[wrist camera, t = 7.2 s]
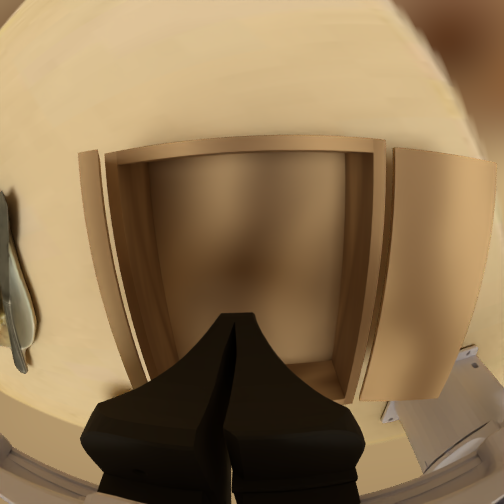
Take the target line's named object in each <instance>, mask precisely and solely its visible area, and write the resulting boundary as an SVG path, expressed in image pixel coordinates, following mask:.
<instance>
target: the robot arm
mask: <svg viewBox="0 0 504 504" xmlns="http://www.w3.org/2000/svg"><path fill="white" fill-rule="evenodd" d="M477 351H478V347H477V346H476V345H474V346H471V347H468V348H465V349H462V350H460V351H459V354H458V356H457V359H456V361H455V363H454V366H453V368H452V370H451V372H450V375H449V377H448V379H447V381H446V383H445V385H444V387H443V389H442V391H441V393H440V395H439V397H438V398H436V399H423V400H405V401H389V402H388V404H387V407H386V409H385V411H384V414H383V416H382V418H381V421H382V423H388V422H392V421H396V420H400V422H401V424H402V426H403V428H404V430H405V433H406V435H407V437H408V439H409V442H410V444H411V446H412V448H413V450H414V453H415V455H416V458H417V460H418V462H419V465H420V467H421V470H422V472H423V475H422V476H420V477H419V478H416V479H413V480H411V481H408V482H405V483H402V484H399V485H396V486H393V487H390V488H387V489H383V490H380V491H376V492H372V493H368V494H365V495H361V496H359V493H358V489H357V485H356V481H357V479H358V476H357V472H356V468H355V466H356V464H357V463H358V461H359V459H360V457H361V455H362V453H363V451H364V448H365V441H364V437H363V434H362V431H361V429H360V427H359V425H358V423H357V421H356V420H355V418H354V416H353V415H352V413H351V411H350V410H349V409H348V408H347V407H345V406H342V405H340V404H339V403H337V402H335V401H333V400H331V399H329V398H327V397H325V396H323V395H322V394H320V393H319V392H317V391H316V390H314V389H313V388H312V387H310V386H309V385H308V384H306V383H305V382H304V381H303V380H301V379H300V378H299V377H298V376H297V375H296V374H294V373H293V372H292V371H291V370H290V369H289V368H288V367H287V366H286V365H285V363H284V362H283V361H282V360H281V359H280V358H279V357H278V355H277V354H276V353H275V351H274V350H273V349H272V347H271V346H270V344H269V343H268V341H267V340H266V338H265V336H264V335H263V333H262V331H261V329H260V327H259V325H258V323H257V320H256V316H255V314H254V313H253V312H244V313H221V314H220V315H219V316H218V317H217V319H216V320H215V322H214V323H213V324H212V326H211V327H210V328H209V329H208V331H207V332H206V333H205V334H204V336H203V337H202V338H201V339H200V340H199V341H198V343H197V344H196V345H195V346H194V347H193V348H192V349H191V350H190V351H189V352H188V353H187V354H186V355H185V356H184V357H183V358H181V359H180V360H179V361H178V362H177V363H176V364H174V365H173V366H172V367H170V368H169V369H168V370H166V371H165V372H163V373H162V374H160V375H159V376H157V377H156V378H154V379H152V380H151V381H149V382H147V383H146V384H144V385H142V386H140V387H138V388H136V389H134V390H132V391H130V392H127V393H125V394H123V395H120V396H117V397H115V398H112V399H109V400H106V401H104V402H100V403H98V404H97V406H96V407H95V409H94V411H93V412H92V414H91V416H90V418H89V420H88V422H87V424H86V426H85V429H84V431H83V433H82V435H81V437H80V441H81V444H82V446H83V448H84V450H85V451H86V453H87V454H88V455H89V456H90V457H91V459H92V460H93V461H94V462H95V463H96V464H97V465H98V466H99V468H100V469H101V470H102V471H103V472H104V474H103V476H102V479H101V482H100V485H96V484H93V483H90V482H87V481H84V480H82V479H79V478H76V477H74V476H71V475H69V474H67V473H64V472H62V471H60V470H57V469H55V468H53V467H51V466H48V465H46V464H44V463H42V462H40V461H38V460H36V459H34V458H32V457H30V456H28V455H26V454H25V453H23V452H21V451H19V450H17V449H16V448H14V447H12V445H11V444H10V442H9V441H8V440H7V439H6V438H5V437H4V436H3V435H2V434H1V433H0V497H1V498H2V499H4V500H5V501H6V502H8V503H9V504H231V466H232V470H233V472H232V493H234V496H235V499H236V502H237V504H504V388H503V386H502V385H501V384H500V383H499V381H498V380H497V379H496V378H495V377H494V375H493V374H492V373H491V372H490V371H489V370H488V368H487V367H486V366H485V365H484V364H483V363H482V361H481V360H480V359H479V358H478V357H477V356H476V353H477Z"/></svg>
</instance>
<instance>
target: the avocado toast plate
mask: <svg viewBox="0 0 504 504" xmlns="http://www.w3.org/2000/svg"><path fill="white" fill-rule="evenodd" d="M36 326H37V320H36V316H35V312H34V308H33V304H32V300H31V297H30V294H29V291H28V288H27V286H26V283H25V280H24V277H23V274H22V271H21V268H20V264H19V261H18V257H17V253H16V249H15V244H14V240H13V237H12V233H11V229H10V222H9V214H8V206H7V202H6V200H5V197H4V194H3V192H2V191H1V192H0V346H4V347H9V348H10V349H11V350H12V355H13V359H14V363H15V366H16V368H17V369H18V370H19V371H20V372H21V373H24V374H26V373H27V372H28V367H27V362H26V356H25V351H26V349H27V348H28V347H30V346H31V345H33V342H34V338H35V331H36Z"/></svg>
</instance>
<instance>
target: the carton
mask: <svg viewBox="0 0 504 504" xmlns="http://www.w3.org/2000/svg"><path fill="white" fill-rule="evenodd" d="M105 167H106V179H107V189H108V198H109V206H110V214H111V221H112V227H113V234H114V240H115V246H116V251H117V257H118V262H119V267H120V272H121V276H122V281H123V285H124V290H125V294H126V298H127V302H128V306H129V310H130V314H131V318H132V321H133V325H134V328H135V332H136V335H137V339H138V342H139V345H140V349H141V352H142V355H143V358H144V361H145V364H146V367H147V370H148V373H149V376H150V379H151V380H152V379H154V378H156V377H157V376H159V375H160V374H162V373H163V372H165V371H166V370H168V369H169V368H170V367H172V366H173V365H174V364H176V363H177V362H178V361H179V360H180V359H181V358H183V357H184V356H185V355H186V354H187V353H188V352H189V351H190V350H191V349H192V348H193V347H194V346H195V345H196V344H197V343H198V341H199V340H200V339H201V338H202V337H203V336H204V334H205V333H206V332H207V331H208V329H209V328H210V327H211V326H212V324H213V323H214V322H215V320H216V319H217V317H218V316H219V315H220V314H221V313H244V312H253V313H254V314H255V316H256V320H257V323H258V325H259V327H260V329H261V331H262V333H263V335H264V336H265V338H266V340H267V341H268V343H269V344H270V346H271V347H272V349H273V350H274V351H275V353H276V354H277V355H278V357H279V358H280V359H281V360H282V361H283V362H284V363H285V365H286V366H287V367H288V368H289V369H290V370H291V371H292V372H293V373H294V374H296V375H297V376H298V377H299V378H300V379H301V380H303V381H304V382H305V383H306V384H308V385H309V386H310V387H312V388H313V389H314V390H316V391H317V392H319V393H320V394H322V395H323V396H325V397H327V398H329V399H331V400H333V401H335V402H337V403H339V404H340V405H344V404H350V403H352V402H353V399H354V395H355V391H356V388H357V384H358V380H359V376H360V372H361V368H362V364H363V360H364V356H365V351H366V347H367V342H368V337H369V332H370V327H371V322H372V316H373V311H374V305H375V298H376V292H377V285H378V278H379V270H380V261H381V252H382V242H383V229H384V215H385V192H386V140H382V139H371V138H359V137H343V136H320V135H264V136H240V137H224V138H211V139H200V140H190V141H181V142H173V143H165V144H158V145H151V146H145V147H139V148H133V149H127V150H121V151H116V152H111V153H106V154H105Z"/></svg>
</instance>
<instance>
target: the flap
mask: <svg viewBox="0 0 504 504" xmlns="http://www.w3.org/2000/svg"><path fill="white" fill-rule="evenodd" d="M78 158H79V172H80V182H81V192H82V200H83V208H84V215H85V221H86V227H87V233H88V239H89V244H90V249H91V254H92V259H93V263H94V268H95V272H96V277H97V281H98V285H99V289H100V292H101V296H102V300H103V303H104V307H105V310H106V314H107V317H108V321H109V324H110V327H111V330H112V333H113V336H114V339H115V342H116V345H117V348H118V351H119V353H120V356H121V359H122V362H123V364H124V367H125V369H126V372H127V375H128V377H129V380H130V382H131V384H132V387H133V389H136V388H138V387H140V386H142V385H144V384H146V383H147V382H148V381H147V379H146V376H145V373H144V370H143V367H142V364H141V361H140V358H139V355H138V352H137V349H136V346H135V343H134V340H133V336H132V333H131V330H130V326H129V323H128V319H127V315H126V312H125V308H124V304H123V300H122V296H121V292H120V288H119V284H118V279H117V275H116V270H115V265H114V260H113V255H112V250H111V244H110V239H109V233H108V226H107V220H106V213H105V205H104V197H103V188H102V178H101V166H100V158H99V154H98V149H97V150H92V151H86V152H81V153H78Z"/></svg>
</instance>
